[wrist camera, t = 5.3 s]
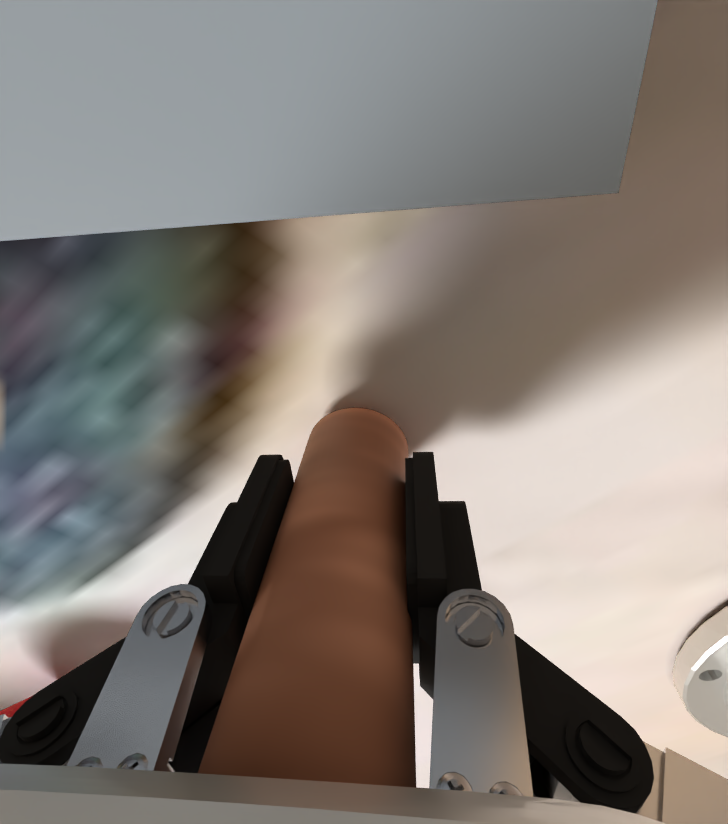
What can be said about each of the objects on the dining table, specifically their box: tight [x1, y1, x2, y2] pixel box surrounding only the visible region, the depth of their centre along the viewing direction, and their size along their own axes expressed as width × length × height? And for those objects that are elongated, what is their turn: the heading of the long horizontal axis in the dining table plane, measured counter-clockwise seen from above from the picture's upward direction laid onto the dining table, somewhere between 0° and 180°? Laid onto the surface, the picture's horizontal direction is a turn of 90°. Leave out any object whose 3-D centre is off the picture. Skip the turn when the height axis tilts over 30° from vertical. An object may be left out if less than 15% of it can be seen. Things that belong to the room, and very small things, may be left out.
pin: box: [198, 408, 416, 788], centre depth 10 cm, size 3×3×9 cm
